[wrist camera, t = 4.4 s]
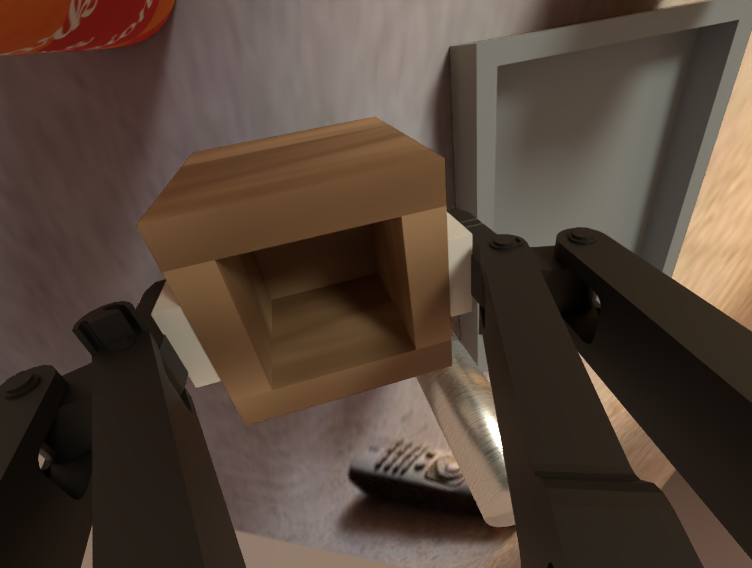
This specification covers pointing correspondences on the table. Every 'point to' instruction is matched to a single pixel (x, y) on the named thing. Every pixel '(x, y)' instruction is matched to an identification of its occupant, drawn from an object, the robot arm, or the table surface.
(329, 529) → the table surface
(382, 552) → the table surface
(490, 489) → the pin
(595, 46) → the tray
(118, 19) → the coffee cup
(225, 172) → the bored block
